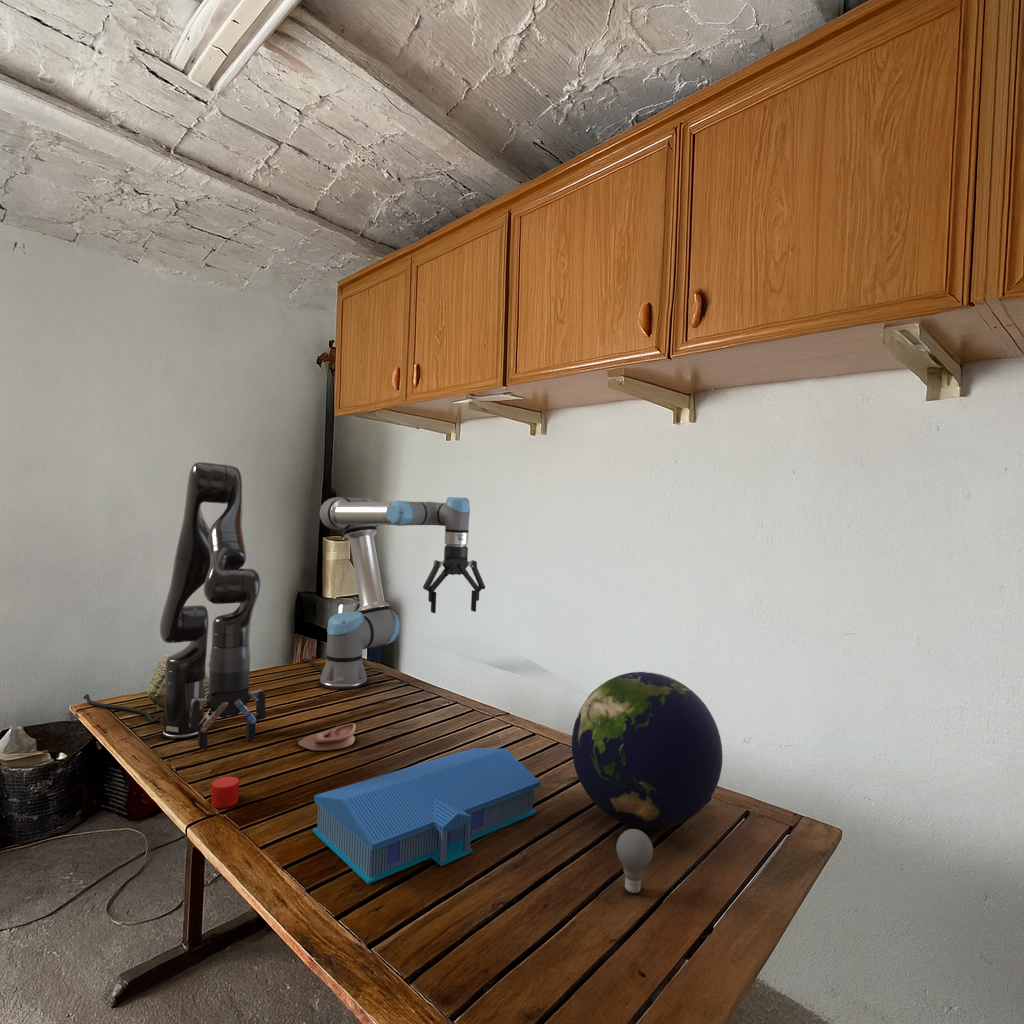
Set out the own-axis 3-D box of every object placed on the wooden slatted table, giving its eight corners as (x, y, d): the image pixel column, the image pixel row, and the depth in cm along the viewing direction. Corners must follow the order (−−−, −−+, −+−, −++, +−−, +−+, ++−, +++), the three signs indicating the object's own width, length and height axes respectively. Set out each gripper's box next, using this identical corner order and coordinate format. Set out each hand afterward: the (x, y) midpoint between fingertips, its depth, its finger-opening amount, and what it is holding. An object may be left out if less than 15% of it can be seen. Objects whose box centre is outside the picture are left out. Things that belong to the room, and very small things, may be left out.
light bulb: (610, 879, 108) (613, 822, 108) (644, 879, 109) (647, 822, 109) (619, 902, 102) (622, 840, 102) (655, 901, 103) (658, 840, 103)
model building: (378, 893, 102) (380, 832, 102) (311, 830, 120) (313, 778, 120) (548, 819, 128) (550, 770, 128) (472, 776, 146) (474, 733, 146)
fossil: (144, 707, 182) (145, 655, 182) (212, 696, 194) (213, 647, 194) (151, 716, 175) (153, 662, 175) (221, 703, 188) (223, 653, 188)
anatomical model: (291, 731, 158) (315, 716, 169) (291, 747, 158) (314, 731, 169) (341, 738, 155) (361, 722, 167) (340, 754, 155) (360, 737, 167)
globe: (548, 837, 121) (555, 681, 121) (589, 777, 149) (595, 650, 148) (711, 879, 110) (720, 707, 109) (723, 805, 138) (730, 668, 137)
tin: (205, 806, 128) (206, 785, 128) (221, 795, 133) (221, 775, 133) (228, 809, 127) (229, 788, 127) (243, 798, 132) (244, 777, 132)
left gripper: (195, 675, 122) (192, 758, 122) (271, 666, 131) (268, 744, 131) (187, 666, 128) (184, 745, 128) (260, 658, 137) (257, 732, 137)
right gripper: (421, 546, 194) (418, 615, 194) (496, 546, 204) (493, 612, 204) (415, 544, 201) (412, 610, 201) (488, 544, 211) (485, 608, 211)
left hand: (227, 744), depth 130 cm, fingers open, 8 cm apart
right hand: (453, 611), depth 203 cm, fingers open, 13 cm apart
